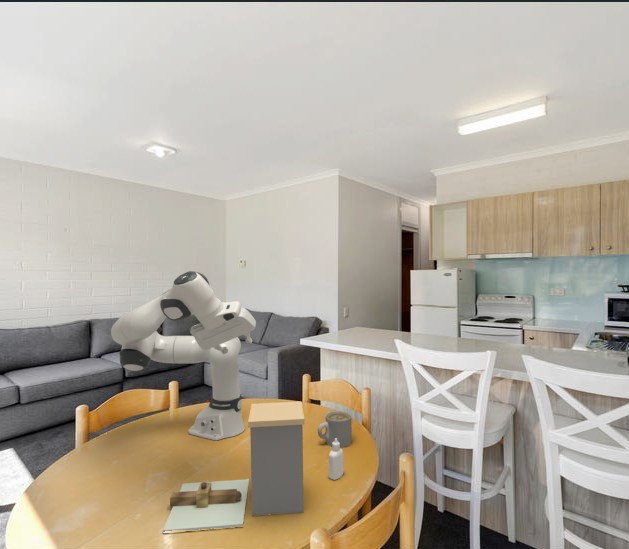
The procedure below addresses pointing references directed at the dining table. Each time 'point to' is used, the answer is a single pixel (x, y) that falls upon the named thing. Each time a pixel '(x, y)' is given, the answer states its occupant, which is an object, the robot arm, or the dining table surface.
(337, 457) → the eye dropper bottle
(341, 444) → the coffee mug
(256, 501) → the stand
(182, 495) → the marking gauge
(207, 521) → the sage mat
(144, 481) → the dining table surface
